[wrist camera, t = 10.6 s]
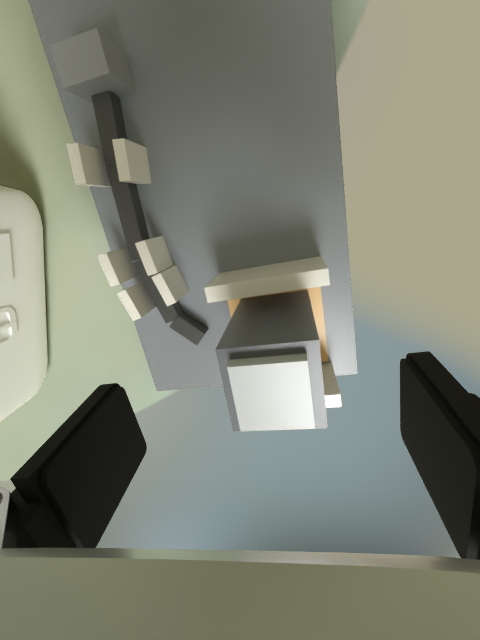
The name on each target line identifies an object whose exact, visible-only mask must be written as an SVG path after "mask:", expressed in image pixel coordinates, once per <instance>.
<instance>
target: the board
mask: <svg viewBox="0 0 480 640" xmlns="http://www.w3.org/2000/svg"><path fill="white" fill-rule="evenodd" d="M28 1H29V4H30V7H31V10H32V13H33V16H34V19H35V22H36V25H37V28H38V31H39V34H40V37H41V40H42V43H43V46H44V49H45V52H46V55H47V59H48V62H49V65H50V68H51V71H52V74H53V77H54V80H55V83H56V86H57V89H58V92H59V95H60V98H61V101H62V104H63V107H64V110H65V113H66V116H67V119H68V122H69V125H70V128H71V131H72V134H73V137H74V141H75V143H70V144H66V145H67V149H68V153H69V158H70V162H71V167H72V171H73V176H74V180H75V185H85V186H90V189H91V192H92V195H93V198H94V201H95V204H96V207H97V210H98V213H99V216H100V219H101V223H102V226H103V229H104V232H105V235H106V238H107V241H108V244H109V247H110V250H111V251H110V252H107V253H104V254H100V255H97V257H98V259H99V261H100V264H101V266H102V268H103V270H104V273H105V275H106V277H107V279H108V282H109V284H110V286H111V287H112V286H115V285H118V284H121V283H122V286H123V289H124V290H123V291H121V292H119V293H117V295H118V296H119V298H120V300H121V301H122V303H123V305H124V307H125V308H126V310H127V312H128V313H129V315H130V317H131V318H132V320H133V321H134V323H135V326H136V329H137V332H138V335H139V338H140V341H141V344H142V347H143V350H144V353H145V356H146V359H147V362H148V365H149V368H150V371H151V374H152V377H153V380H154V383H155V387H156V390H157V391H163V390H175V389H186V388H198V387H210V386H220V385H223V382H222V378H221V373H220V369H219V364H218V359H217V355H216V350H215V349H216V347H217V345H218V343H219V341H220V339H221V337H222V335H223V333H224V331H225V329H226V327H227V326H228V324H229V322H230V320H231V318H232V316H233V314H234V312H235V310H236V308H237V306H238V304H239V302H240V300H241V298H249V297H257V296H265V295H273V294H281V293H289V292H297V291H305V290H308V293H309V297H310V301H311V306H312V310H313V315H314V319H315V323H316V328H317V332H318V336H319V342H320V353H321V364H322V374H323V385H324V396H325V406H326V408H331V407H341V406H342V405H341V394H340V391H339V387H338V383H337V380H336V376H338V375H349V374H357V361H356V348H355V335H354V320H353V306H352V292H351V279H350V265H349V251H348V237H347V224H346V210H345V196H344V182H343V168H342V155H341V140H340V127H339V113H338V99H337V86H336V71H335V57H334V43H333V30H332V16H331V2H330V0H28Z"/></svg>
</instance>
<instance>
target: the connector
mask: <svg viewBox="0 0 480 640" xmlns="http://www.w3.org/2000/svg"><path fill="white" fill-rule="evenodd" d="M215 350H216V355H217V359H218V364H219V369H220V373H221V378H222V382H223V387H224V390H225V396H226V400H227V404H228V409H229V413H230V418H231V423H232V427H233V431H262V430H287V429H315V428H327V417H326V406H325V396H324V385H323V374H322V364H321V353H320V342H319V336H318V332H317V328H316V323H315V319H314V315H313V310H312V306H311V301H310V297H309V293H308V290H305V291H297V292H289V293H281V294H273V295H265V296H257V297H249V298H241V300H240V302H239V304H238V306H237V308H236V310H235V312H234V314H233V316H232V318H231V320H230V322H229V324H228V326H227V327H226V329H225V331H224V333H223V335H222V337H221V339H220V341H219V343H218V345H217V347H216V349H215Z"/></svg>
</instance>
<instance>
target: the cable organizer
mask: <svg viewBox="0 0 480 640" xmlns="http://www.w3.org/2000/svg"><path fill="white" fill-rule="evenodd" d="M47 366H48V356H47V329H46V302H45V275H44V248H43V226H42V220H41V216H40V213H39V210H38V208H37V206H36V204H35V203H34V201H33V200H32V199H31V197H30V196H29V195H27V194H26V193H25V192H22V191H20V190H16V189H12V188H8V187H4V186H0V421H2V420H3V419H4V418H6V417H7V416H8V415H10V414H11V413H12V412H14V411H15V410H16V409H18V408H19V407H20V406H22V405H23V404H24V403H26V402H27V401H28V400H30V399H31V398H32V397H33V396H34V395H35V394H36V393H37V392H38V390H39V389H40V387H41V386H42V384H43V381H44V379H45V376H46V372H47Z"/></svg>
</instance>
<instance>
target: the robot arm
mask: <svg viewBox="0 0 480 640" xmlns="http://www.w3.org/2000/svg"><path fill="white" fill-rule="evenodd" d="M400 423H401V424H400V426H401V427H400V428H401V435H402V438H403V441H404V443H405V445H406V447H407V449H408V451H409V453H410V455H411V457H412V460H413V461H414V464H415V465H416V468H417V470H418V472H419V474H420V476H421V478H422V480H423V482H424V484H425V486H426V488H427V490H428V492H429V494H430V496H431V498H432V500H433V502H434V504H435V507H436V509H437V511H438V512H439V515H440V517H441V519H442V521H443V523H444V525H445V527H446V529H447V531H448V533H449V535H450V537H451V539H452V541H453V543H454V545H455V547H456V550H457V551H458V553H459V555H460V557H461V558H451V557H438V556H413V555H389V554H366V553H327V552H285V551H242V550H240V551H238V550H185V549H122V548H121V549H120V548H96V546H97V544H98V543H99V541H100V539H101V537H102V535H103V533H104V531H105V529H106V527H107V525H108V524H109V522H110V520H111V518H112V516H113V514H114V512H115V510H116V508H117V507H118V505H119V503H120V501H121V499H122V497H123V495H124V493H125V491H126V490H127V488H128V486H129V484H130V482H131V480H132V478H133V476H134V474H135V473H136V471H137V469H138V467H139V465H140V463H141V461H142V459H143V457H144V455H145V453H146V448H147V447H146V442H145V439H144V437H143V435H142V432H141V429H140V427H139V425H138V422H137V419H136V417H135V414H134V412H133V409H132V407H131V404H130V402H129V399H128V397H127V394H126V392H125V390H124V388H123V387H120V385H119V384H117V383H113V384H104V385H100V386H99V387H98V388H97V389H96V390H95V391H94V392H93V393H92V394H91V395H90V396H89V397H88V398H87V399H86V400H85V401H84V402H83V403H82V404H81V405H80V406H79V408H78V409H77V410H76V411H75V412H74V413H73V414H72V415H71V416H70V417H69V418H68V419H67V420H66V421H65V422H64V423H63V424H62V425H61V426H60V427H59V428H58V429H57V431H56V432H55V433H54V434H53V435H52V436H51V437H50V438H49V439H48V440H47V441H46V442H45V443H44V444H43V445H42V446H41V447H40V448H39V449H38V450H37V451H36V452H35V454H34V455H33V456H32V457H31V458H30V459H29V460H28V461H27V462H26V463H25V464H24V465H23V466H22V467H21V468H20V469H19V470H18V471H17V472H16V473H15V474H14V476H13V477H12V478H11V481H12V482H13V484H14V486H15V487H16V489H15V490H14V491H13V492H12V493H10V491H9V490H8V489H6V488H2V487H0V640H480V398H479V397H478V396H476V395H475V394H472V393H468V392H467V391H466V390H465V389H464V388H463V387H462V386H461V384H460V383H459V382H458V381H457V380H456V379H455V378H454V377H453V376H452V375H451V374H450V373H449V372H448V371H447V369H446V368H445V367H444V366H443V365H442V364H441V363H440V362H439V361H438V360H437V359H436V358H435V357H434V356H433V354H431V353H430V352H419V353H409V354H407V356H406V359H401V361H400Z"/></svg>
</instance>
